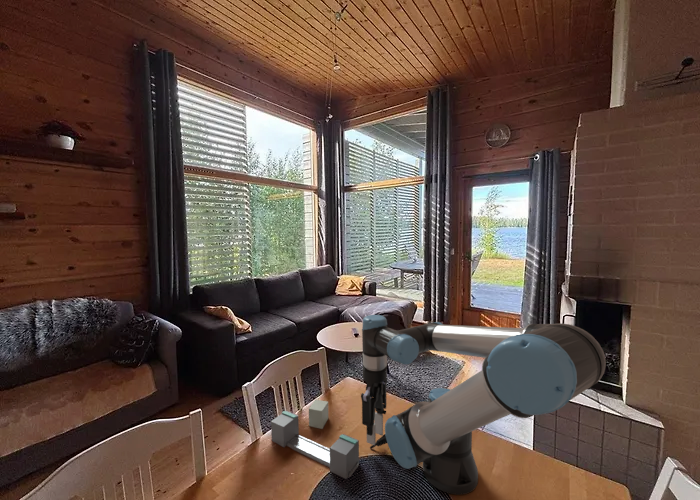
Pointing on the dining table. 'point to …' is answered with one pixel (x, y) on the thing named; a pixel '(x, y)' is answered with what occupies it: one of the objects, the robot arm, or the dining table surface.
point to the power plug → (380, 441)
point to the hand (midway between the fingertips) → (374, 438)
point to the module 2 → (318, 414)
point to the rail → (314, 451)
